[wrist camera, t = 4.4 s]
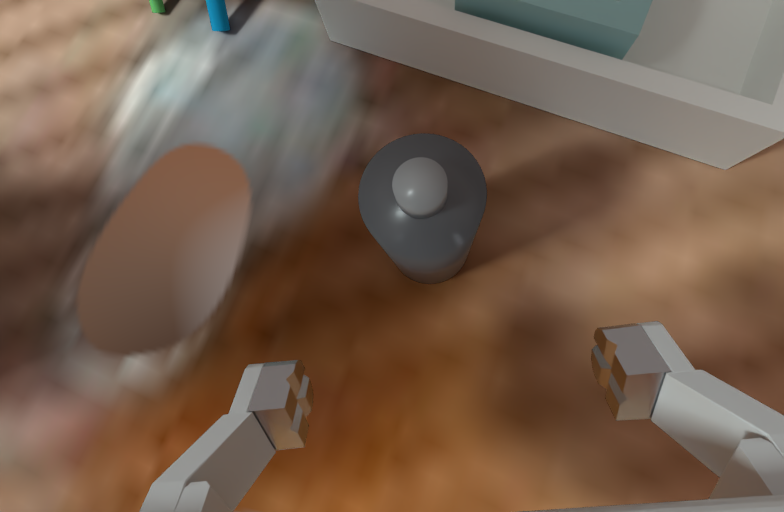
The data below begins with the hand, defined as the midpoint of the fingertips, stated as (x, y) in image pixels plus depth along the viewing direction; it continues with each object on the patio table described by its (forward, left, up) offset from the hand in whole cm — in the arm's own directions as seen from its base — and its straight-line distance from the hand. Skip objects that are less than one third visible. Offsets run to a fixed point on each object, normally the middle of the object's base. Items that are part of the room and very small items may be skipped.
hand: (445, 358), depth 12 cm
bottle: (-3, +4, -9) cm, 11 cm away
